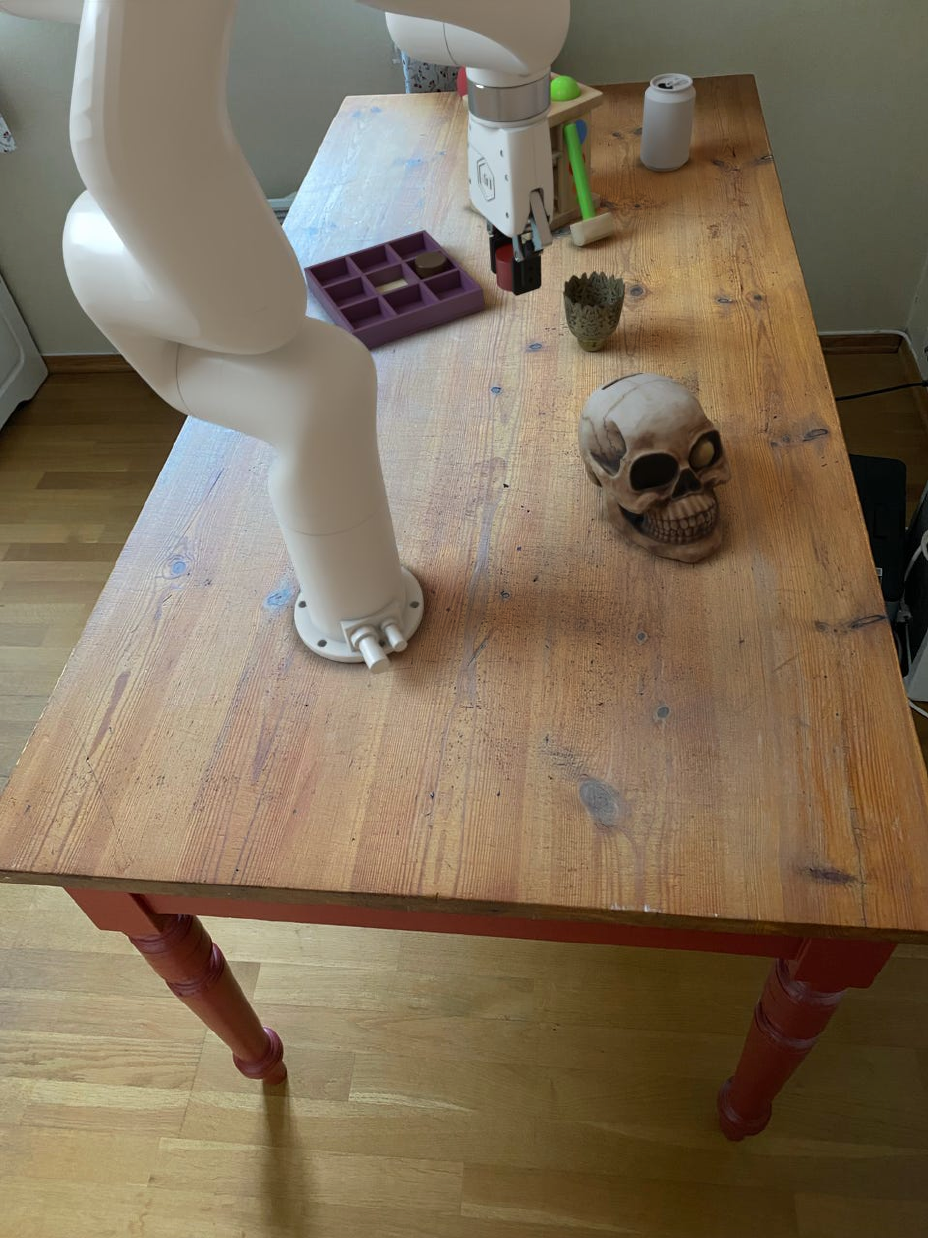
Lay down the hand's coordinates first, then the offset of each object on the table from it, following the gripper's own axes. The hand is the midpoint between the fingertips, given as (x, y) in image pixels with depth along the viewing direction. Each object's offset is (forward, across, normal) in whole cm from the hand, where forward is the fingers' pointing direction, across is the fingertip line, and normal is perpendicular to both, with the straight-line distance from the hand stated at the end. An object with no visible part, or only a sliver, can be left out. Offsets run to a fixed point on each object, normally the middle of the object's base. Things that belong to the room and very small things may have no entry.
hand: (515, 278), depth 94 cm
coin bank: (+16, +22, +4) cm, 28 cm away
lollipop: (+16, -60, +24) cm, 67 cm away
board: (+16, -28, -5) cm, 33 cm away
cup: (+16, -5, +13) cm, 21 cm away
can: (+16, -41, +47) cm, 65 cm away
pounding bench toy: (+16, -36, +24) cm, 46 cm away
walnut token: (+15, -28, +1) cm, 32 cm away
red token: (0, 0, 0) cm, 0 cm away
